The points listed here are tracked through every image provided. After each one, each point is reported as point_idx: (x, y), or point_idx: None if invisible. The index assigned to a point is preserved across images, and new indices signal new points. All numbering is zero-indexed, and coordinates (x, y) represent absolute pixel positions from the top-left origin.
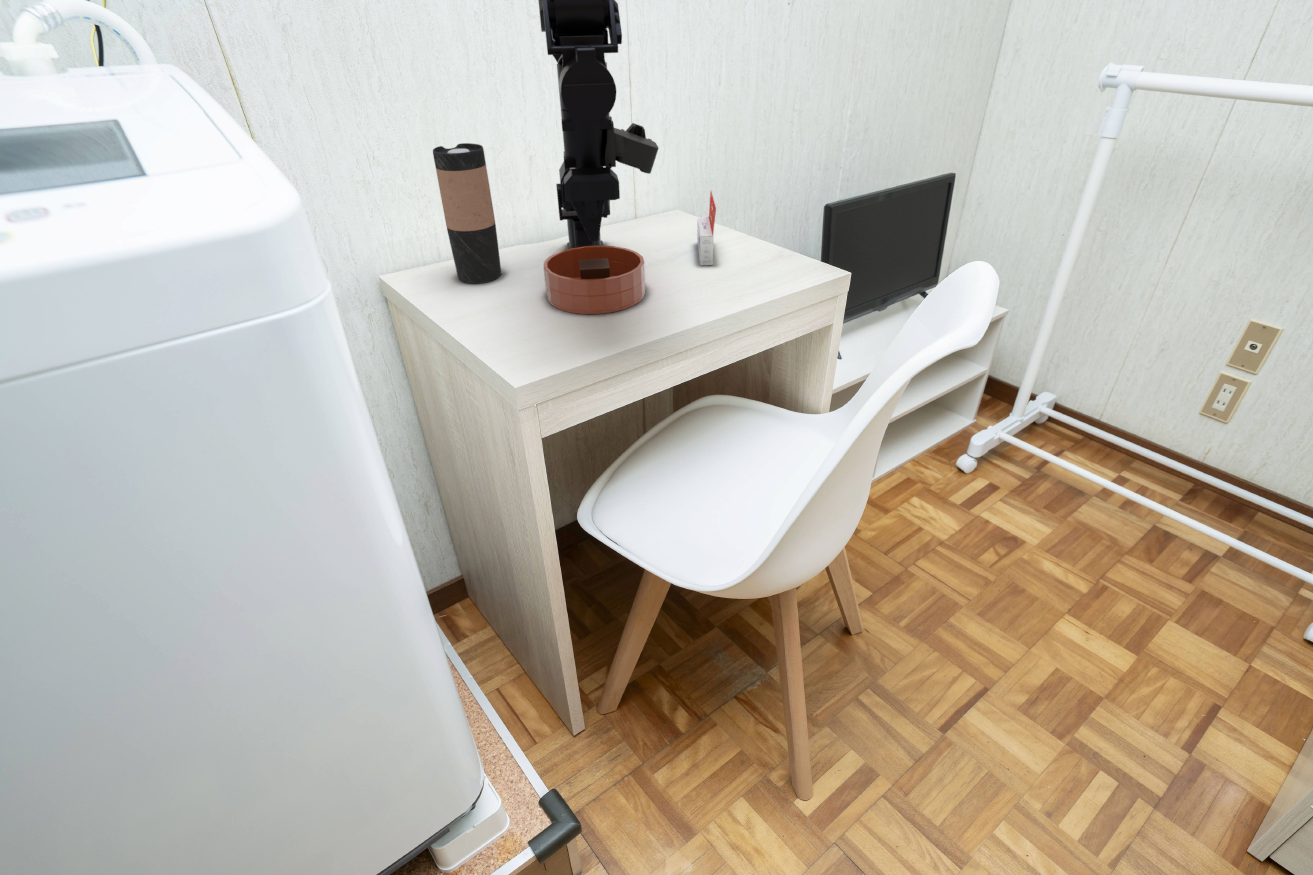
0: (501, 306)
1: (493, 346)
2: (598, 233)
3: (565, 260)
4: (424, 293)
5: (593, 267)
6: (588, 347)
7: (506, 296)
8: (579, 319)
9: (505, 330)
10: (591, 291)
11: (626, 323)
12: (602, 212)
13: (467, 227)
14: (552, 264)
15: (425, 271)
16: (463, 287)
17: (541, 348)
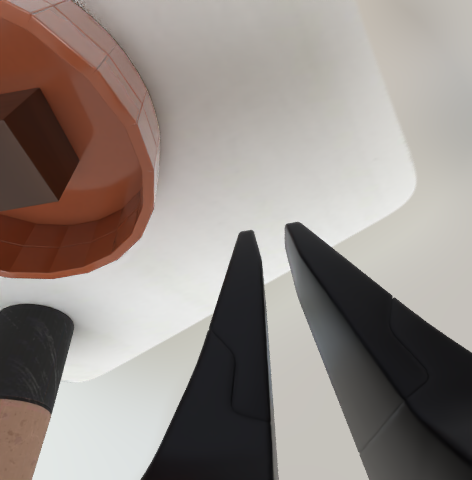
0: (148, 274)
1: None
2: (321, 242)
3: None
4: (125, 347)
5: (23, 170)
6: (325, 109)
7: (106, 277)
8: (188, 147)
9: None
10: (154, 147)
11: (203, 18)
12: (431, 325)
13: (41, 415)
14: (21, 259)
15: None
16: (90, 325)
17: (310, 190)
